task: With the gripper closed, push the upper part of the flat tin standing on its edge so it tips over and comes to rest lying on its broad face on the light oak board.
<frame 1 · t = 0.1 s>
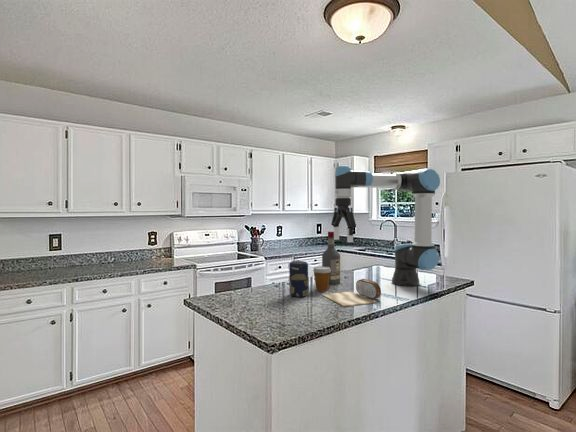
hand: (343, 241, 172), 28 cm above the table, tool pointing down, fingers open, 13 cm apart
disposable coffee cup: (321, 290, 188), on the table
oak board: (348, 299, 169), on the table
canister: (298, 295, 177), on the table
liquor: (331, 282, 206), on the table
tin: (367, 297, 173), on the table
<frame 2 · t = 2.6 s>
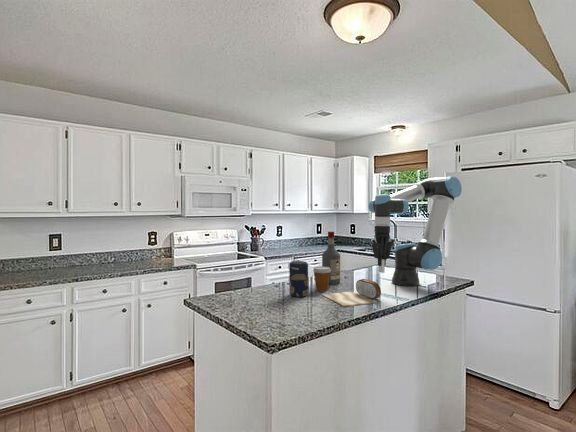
hand: (381, 272, 176), 12 cm above the table, tool pointing down, fingers closed
nothing on the table moved.
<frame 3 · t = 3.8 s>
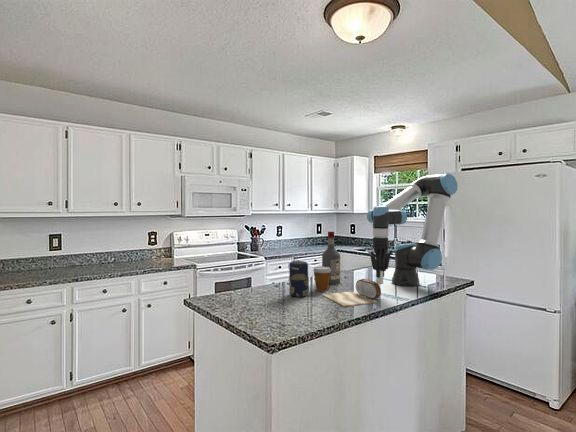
hand: (380, 283, 176), 6 cm above the table, tool pointing down, fingers closed
nothing on the table moved.
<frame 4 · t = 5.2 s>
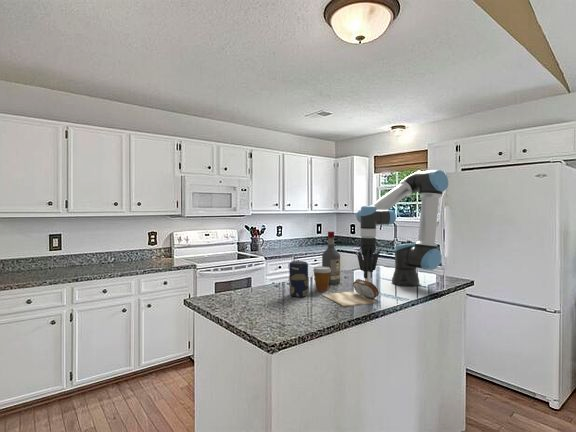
hand: (367, 284, 173), 6 cm above the table, tool pointing down, fingers closed
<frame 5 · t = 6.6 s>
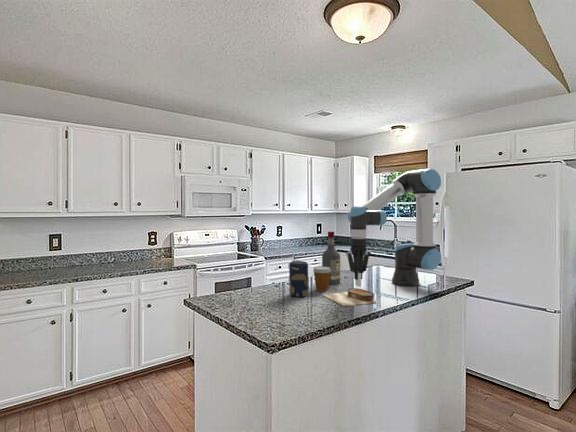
hand: (358, 286, 171), 6 cm above the table, tool pointing down, fingers closed
tin: (367, 294, 173), point 2 cm above the table, touching oak board
everything else where it was.
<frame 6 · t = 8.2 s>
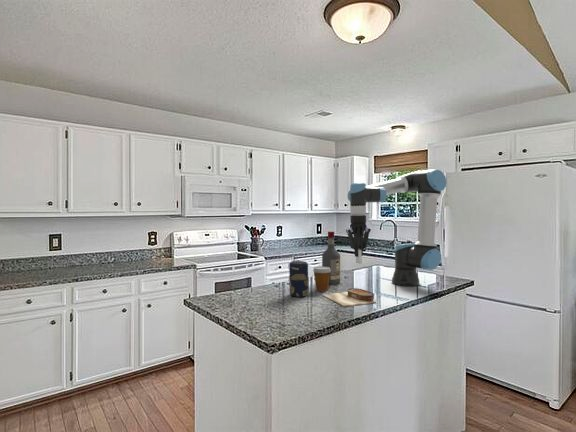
hand: (358, 263, 171), 17 cm above the table, tool pointing down, fingers closed
nothing on the table moved.
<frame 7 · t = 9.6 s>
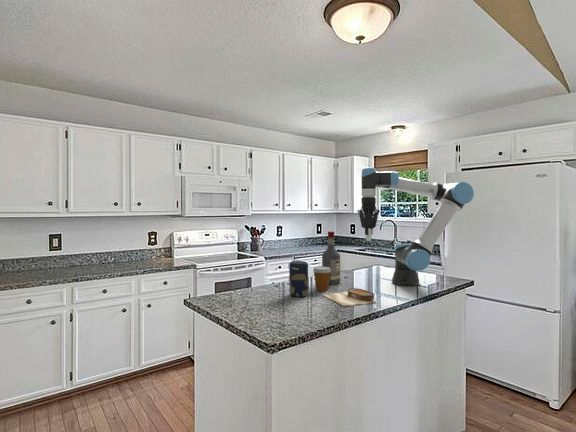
hand: (368, 240, 188), 26 cm above the table, tool pointing down, fingers closed
nothing on the table moved.
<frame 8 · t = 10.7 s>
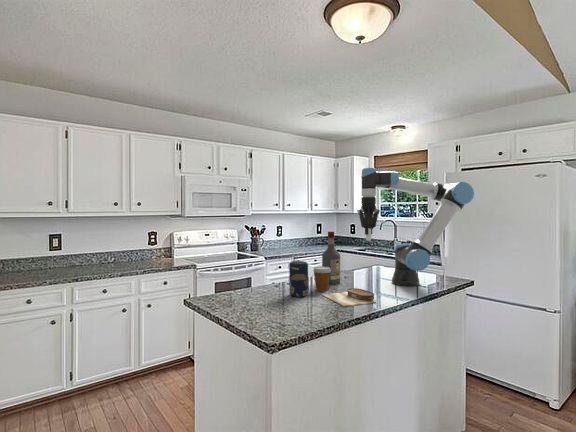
hand: (368, 240, 188), 26 cm above the table, tool pointing down, fingers closed
nothing on the table moved.
at the end: tin tilted 85°; tin touching oak board; tin inside the target area (4.2 cm from its centre), point 1.5 cm above the table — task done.
